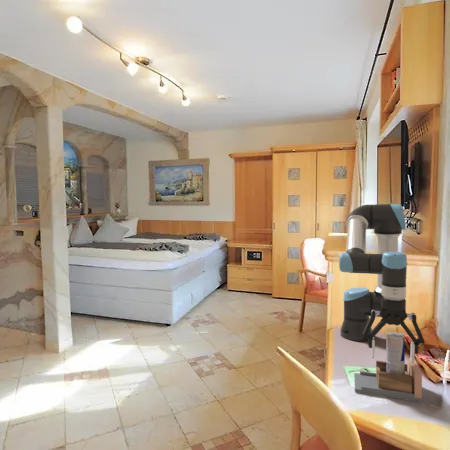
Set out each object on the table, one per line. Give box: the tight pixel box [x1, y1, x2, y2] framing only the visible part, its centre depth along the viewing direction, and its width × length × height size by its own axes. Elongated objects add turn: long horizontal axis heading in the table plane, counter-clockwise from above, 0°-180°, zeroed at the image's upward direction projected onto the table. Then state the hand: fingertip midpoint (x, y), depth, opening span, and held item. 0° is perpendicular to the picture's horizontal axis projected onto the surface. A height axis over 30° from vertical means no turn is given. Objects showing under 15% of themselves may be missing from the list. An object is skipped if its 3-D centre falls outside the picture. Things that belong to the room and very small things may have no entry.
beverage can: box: [385, 331, 406, 375], centre depth 117 cm, size 6×6×15 cm
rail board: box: [353, 357, 423, 403], centre depth 118 cm, size 12×20×9 cm, turn 70°
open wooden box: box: [375, 360, 412, 393], centre depth 117 cm, size 10×10×6 cm
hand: (392, 359), depth 117 cm, fingers open, 12 cm apart
